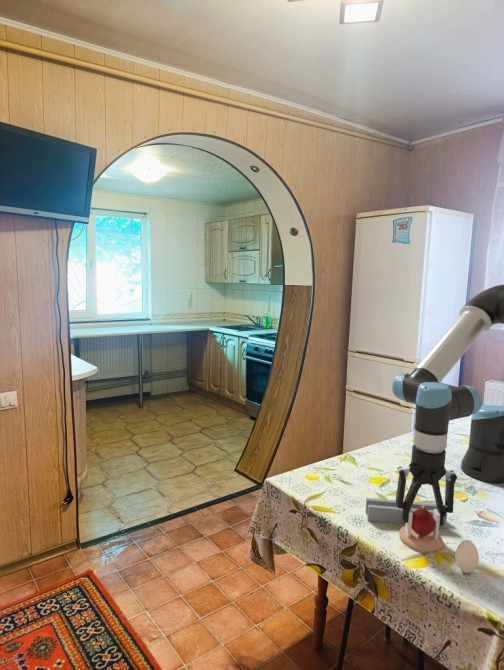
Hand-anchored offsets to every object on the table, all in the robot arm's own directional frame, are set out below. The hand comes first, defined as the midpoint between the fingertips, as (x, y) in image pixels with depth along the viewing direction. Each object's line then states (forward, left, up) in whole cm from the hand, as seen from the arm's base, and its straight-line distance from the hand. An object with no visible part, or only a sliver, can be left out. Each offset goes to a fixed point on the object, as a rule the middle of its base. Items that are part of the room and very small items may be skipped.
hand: (421, 534), depth 108 cm
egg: (-7, +11, -2) cm, 13 cm away
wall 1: (+2, -10, -1) cm, 11 cm away
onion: (0, 0, -1) cm, 1 cm away
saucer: (0, 0, -1) cm, 1 cm away
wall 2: (+2, -7, -1) cm, 7 cm away
